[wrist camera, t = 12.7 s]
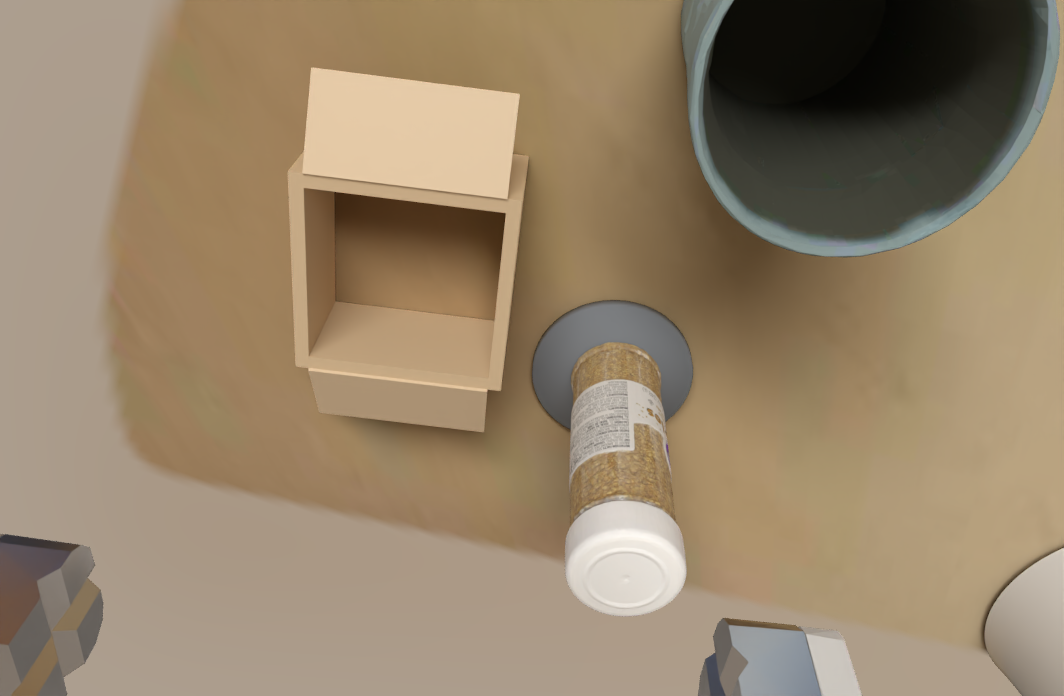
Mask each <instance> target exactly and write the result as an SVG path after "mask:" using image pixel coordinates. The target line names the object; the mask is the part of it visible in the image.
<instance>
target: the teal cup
mask: <svg viewBox="0 0 1064 696" xmlns="http://www.w3.org/2000/svg"><path fill="white" fill-rule="evenodd" d="M681 36H682V44H683V53H684V58H685V63H686V68H687V101H688V118H689V126H690V133H691V139H692V144H693V147H694V151H695V155H696V158H697V160H698V163H699V165H700V168H701V170H702V173H703V175H704V177H705V179H706V181H707V183H708V184H709V186H710V188H711V190H712V191H713V193H714V195H715V196H716V198H717V200H718V201H719V203H720V204H721V205H722V206H723V207H724V209H725V210H726V211H727V212H728V213H729V214H730V215H731V216H732V217H733V218H734V219H735V220H737V221H738V222H739V223H740V224H741V225H743V226H744V227H745V228H746V229H747V230H749V231H750V232H752V233H753V234H755V235H757V236H758V237H760V238H762V239H763V240H765V241H767V242H770V243H772V244H774V245H776V246H779V247H782V248H784V249H787V250H790V251H794V252H798V253H802V254H807V255H813V256H826V257H859V256H866V255H871V254H875V253H880V252H884V251H889V250H894V249H898V248H901V247H903V246H906V245H909V244H911V243H914V242H917V241H919V240H922V239H924V238H926V237H928V236H929V235H931V234H933V233H935V232H937V231H939V230H941V229H943V228H945V227H947V226H949V225H950V224H951V223H953V222H954V221H956V220H957V219H958V218H960V217H961V216H963V215H964V214H965V213H967V212H968V211H970V210H971V209H973V208H974V207H975V206H977V205H978V204H979V203H980V202H981V201H982V200H983V199H984V198H985V197H986V196H987V195H988V194H989V193H990V192H991V191H992V190H993V189H994V188H995V187H996V186H997V185H999V184H1000V183H1001V182H1002V181H1003V180H1004V178H1005V177H1006V176H1007V174H1008V173H1009V172H1010V170H1011V169H1012V167H1013V166H1014V165H1015V163H1016V162H1017V161H1018V159H1019V158H1020V156H1021V155H1022V154H1023V152H1024V151H1025V149H1026V148H1027V147H1028V145H1029V144H1030V142H1031V140H1032V138H1033V136H1034V134H1035V132H1036V130H1037V128H1038V126H1039V124H1040V122H1041V119H1042V116H1043V114H1044V111H1045V109H1046V105H1047V102H1048V99H1049V96H1050V93H1051V89H1052V86H1053V83H1054V79H1055V74H1056V69H1057V64H1058V59H1059V47H1060V26H1059V20H1058V13H1057V7H1056V1H1055V0H684V2H683V7H682V12H681Z"/></svg>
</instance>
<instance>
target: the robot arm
mask: <svg viewBox="0 0 1064 696" xmlns="http://www.w3.org/2000/svg"><path fill="white" fill-rule="evenodd" d="M94 566H95V563H94V560H93V556H92V553H91V549H90V547H87V546H83V545H78V544H71V543H64V542H57V541H50V540H43V539H36V538H29V537H21V536H15V535H8V534H0V696H67V691H66V687H65V682H64V677H65V676H66V675H68V674H69V673H71V672H72V671H74V670H76V669H77V668H79V667H80V666H81V665H83V664H85V662H86V660H87V658H88V657H89V655H90V653H91V651H92V649H93V647H94V645H95V644H96V640H97V637H98V634H99V630H100V627H101V623H102V620H103V618H102V617H103V600H102V595H101V590H100V589H99V588H98V587H97V586H96V585H95V584H94V583H92V581H90V580H89V579H88V576H89V575H90V573H91V571H92V570H93V568H94ZM713 639H714V646H715V652H716V653H714V654H713V655H711V656H709V657H708V658H706V659H705V662H704V665H703V669H702V672H701V675H700V683H699V692H698V696H862V693H861V690H860V687H859V684H858V680H857V677H856V674H855V671H854V668H853V665H852V662H851V658H850V656H849V652H848V649H847V647H846V643H845V640H844V637H843V636H842V635H841V634H840V633H839V631H837V630H827V629H819V628H810V627H801V626H799V627H797V626H796V625H787V624H777V623H767V622H758V621H748V620H739V619H729V618H722V619H721V621H720V622H719V623H718V625H717V627H716V630H715V633H714V636H713ZM985 644H986V648H987V651H988V653H989V656H990V657H991V659H992V661H993V662H994V663H995V665H996V666H997V667H998V668H999V669H1000V670H1001V671H1002V672H1003V673H1004V674H1005V676H1006V677H1007V678H1008V679H1009V680H1010V681H1011V682H1012V684H1013V685H1014V686H1015V687H1016V689H1017V690H1018V691H1019V692H1020V694H1021V695H1022V696H1064V548H1062V549H1060V550H1058V551H1056V552H1054V553H1052V554H1050V555H1048V556H1046V557H1045V558H1043V559H1041V560H1040V561H1038V562H1036V563H1035V564H1033V565H1032V566H1031V567H1029V568H1028V569H1026V570H1025V571H1024V572H1022V573H1021V574H1020V575H1019V576H1018V577H1017V578H1015V579H1014V580H1013V581H1012V582H1011V583H1010V584H1009V585H1008V586H1007V587H1006V588H1005V590H1004V591H1003V592H1002V593H1001V594H1000V596H999V597H998V598H997V600H996V602H995V603H994V605H993V607H992V609H991V610H990V613H989V615H988V618H987V621H986V626H985Z"/></svg>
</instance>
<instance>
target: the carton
mask: <svg viewBox="0 0 1064 696" xmlns="http://www.w3.org/2000/svg"><path fill="white" fill-rule="evenodd" d="M519 97H520V94H515V93H507V92H500V91H492V90H484V89H476V88H468V87H460V86H453V85H445V84H437V83H429V82H421V81H413V80H406V79H398V78H390V77H382V76H374V75H366V74H359V73H351V72H343V71H335V70H327V69H319V68H311V78H310V89H309V101H308V112H307V124H306V135H305V147H304V151H303V153H302V154H301V155H300V156H299V158H298V159H297V160H296V162H295V163H294V164H293V165H292V167H291V168H290V169H289V171H288V190H289V215H290V239H291V264H292V289H293V314H294V338H295V363H296V367H304V368H309V370H308V371H309V375H310V379H311V383H312V386H313V390H314V394H315V398H316V402H317V405H318V409H319V413H326V414H335V415H343V416H351V417H360V418H368V419H376V420H385V421H393V422H402V423H410V424H418V425H427V426H435V427H443V428H452V429H460V430H469V431H477V432H484V427H485V415H486V403H487V390H495V391H501V385H502V378H503V370H504V363H505V355H506V348H507V341H508V333H509V325H510V316H511V307H512V299H513V290H514V282H515V273H516V264H517V256H518V247H519V239H520V230H521V221H522V213H523V204H524V196H525V187H526V178H527V170H528V161H529V156H525V155H517V154H513V148H514V140H515V131H516V123H517V114H518V106H519ZM335 192H341V193H349V194H357V195H365V196H373V197H381V198H389V199H397V200H405V201H413V202H421V203H429V204H437V205H445V206H453V207H461V208H469V209H477V210H485V211H493V212H501V213H506V217H505V227H504V236H503V246H502V255H501V265H500V274H499V284H498V293H497V303H496V312H495V321H493V320H484V319H476V318H468V317H460V316H452V315H443V314H435V313H427V312H419V311H411V310H402V309H394V308H386V307H378V306H370V305H361V304H353V303H345V302H337V301H336V291H335Z"/></svg>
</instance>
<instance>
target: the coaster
mask: <svg viewBox="0 0 1064 696" xmlns="http://www.w3.org/2000/svg"><path fill="white" fill-rule="evenodd" d="M608 342H620V343H628V344H632V345H635V346H637V347H639V348H640V349H643V350H645V351H646V352H647V353H648V354H649V355H650V356H651V357H652V358H653V359H654V360H655V362H656V363H657V365H658V367H659V370H660V373H661V390H660V393H661V399H662V406H663V410H664V415H665V422H666V421H667V420H668V419H669V418H671V417H672V416H673V415H674V414H675V413H676V412H677V411H678V409H679V408H680V407H681V405H682V404H683V403H684V401H685V399H686V397H687V395H688V393H689V390H690V387H691V383H692V378H693V366H692V359H691V354H690V350H689V347H688V344H687V342H686V340H685V338H684V336H683V334H682V333H681V332H680V330H679V329H678V328H677V327H676V325H675V324H674V323H673V322H672V321H670V320H669V319H668V318H667V317H666V316H664V315H663V314H661V313H659V312H658V311H656V310H654V309H652V308H650V307H647V306H645V305H641V304H638V303H634V302H629V301H620V300H607V301H598V302H592V303H589V304H585V305H582V306H580V307H577V308H575V309H573V310H571V311H569V312H567V313H566V314H564V315H562V316H561V317H560V318H558V319H557V320H556V321H555V322H554V323H553V324H552V325H551V326H550V327H549V328H548V329H547V330H546V331H545V333H544V334H543V336H542V337H541V339H540V341H539V343H538V345H537V348H536V350H535V354H534V359H533V371H532V377H533V385H534V389H535V392H536V394H537V397H538V399H539V401H540V403H541V404H542V406H543V407H544V409H545V410H546V411H547V412H548V413H549V414H550V415H551V416H552V417H553V418H554V419H555V420H556V421H558V422H559V423H560V424H562V425H563V426H565V427H567V428H569V429H570V430H571V413H572V408H573V391H572V387H571V374H572V371H573V368H574V365H575V364H576V362H577V360H578V358H579V357H581V356H582V355H583V354H584V353H585V352H587V351H588V350H590V349H591V348H593V347H596V346H599V345H602V344H604V343H608Z"/></svg>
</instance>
